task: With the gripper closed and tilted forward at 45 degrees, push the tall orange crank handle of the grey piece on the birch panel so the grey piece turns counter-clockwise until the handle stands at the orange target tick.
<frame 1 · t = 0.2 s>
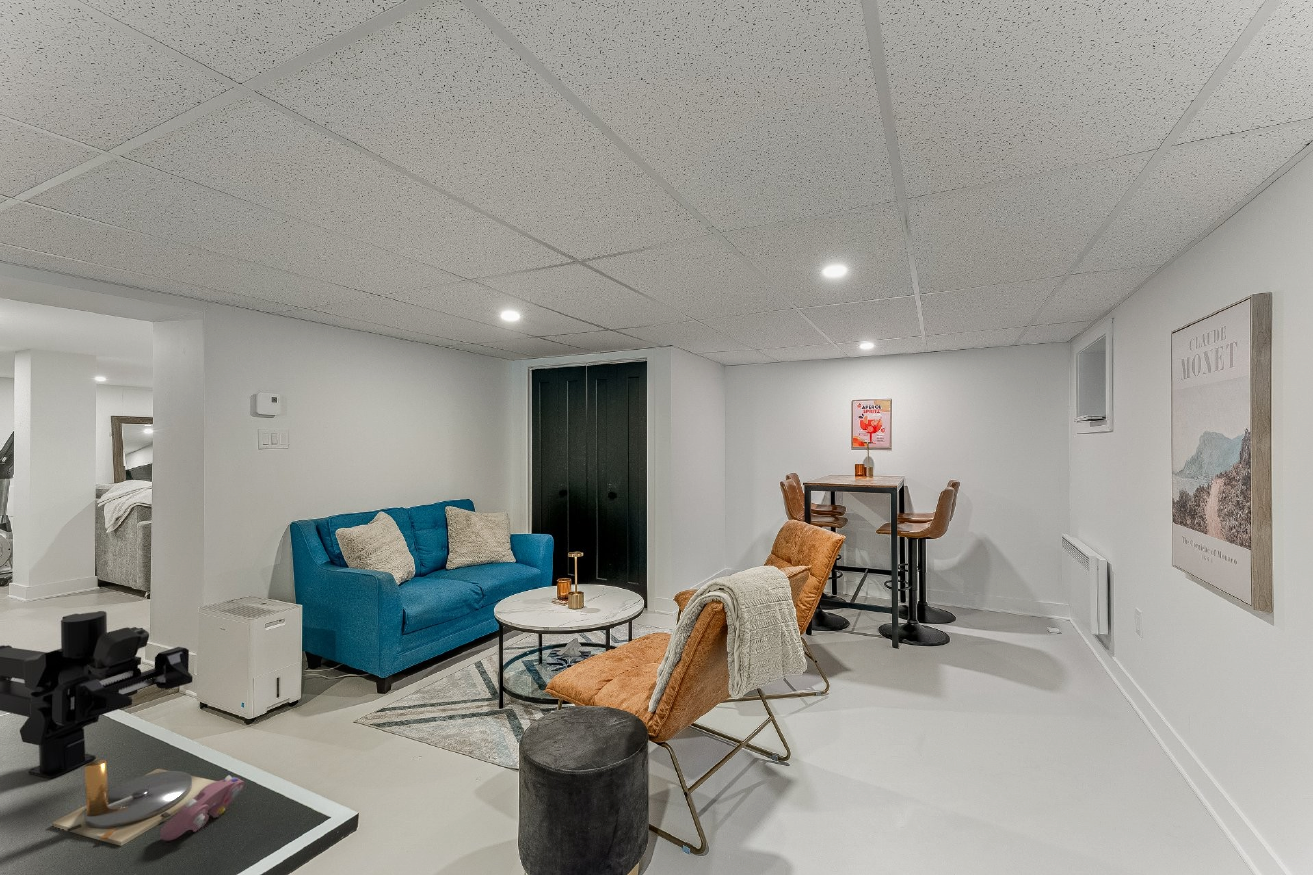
hand: (162, 690, 98), 16 cm above the table, tool horizontal, fingers open, 9 cm apart
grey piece: (139, 775, 95), point 5 cm above the table, hinge at 0.0°
video game controller: (205, 824, 91), on the table
panel: (141, 805, 95), on the table
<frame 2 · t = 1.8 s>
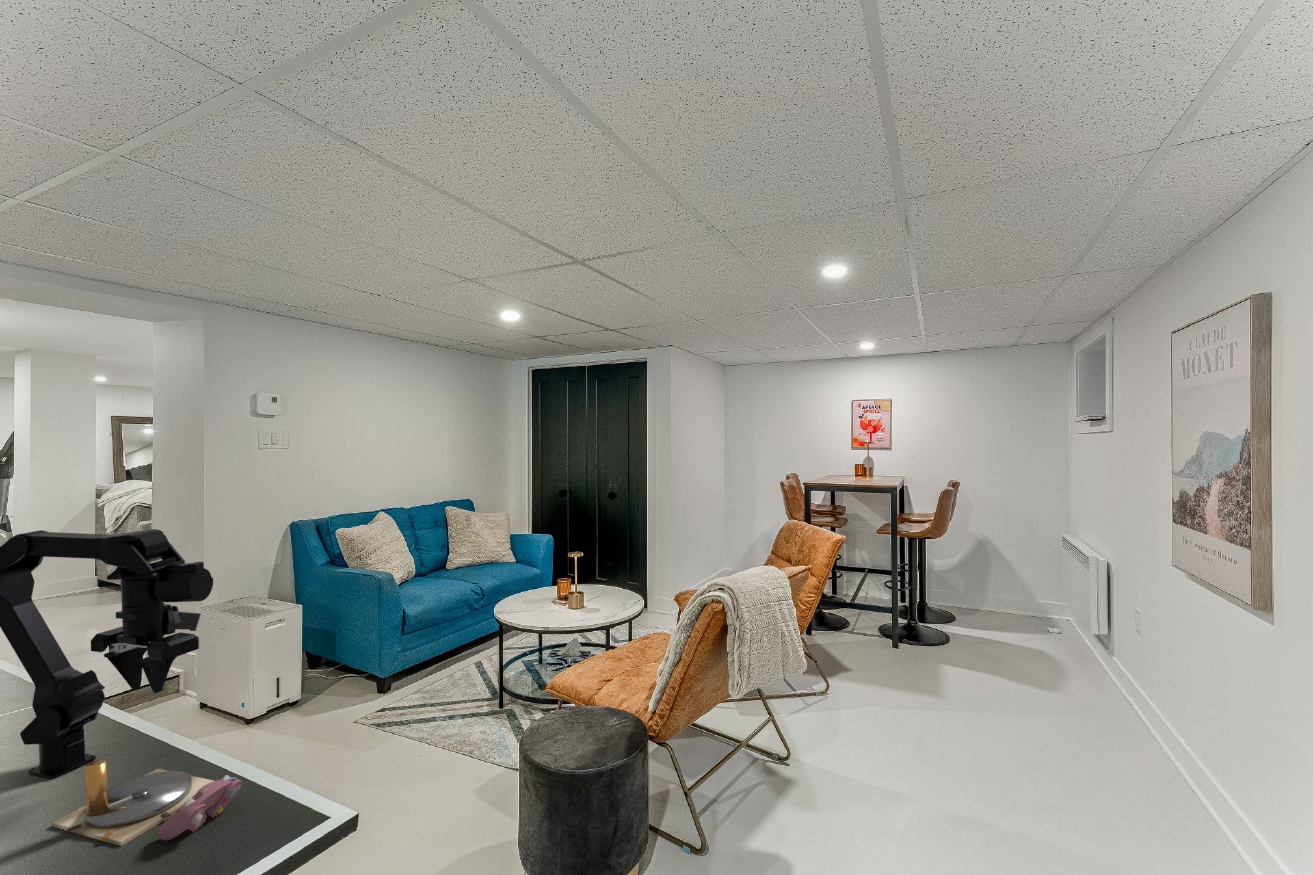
hand: (147, 690, 107), 13 cm above the table, tool pointing down, fingers open, 5 cm apart
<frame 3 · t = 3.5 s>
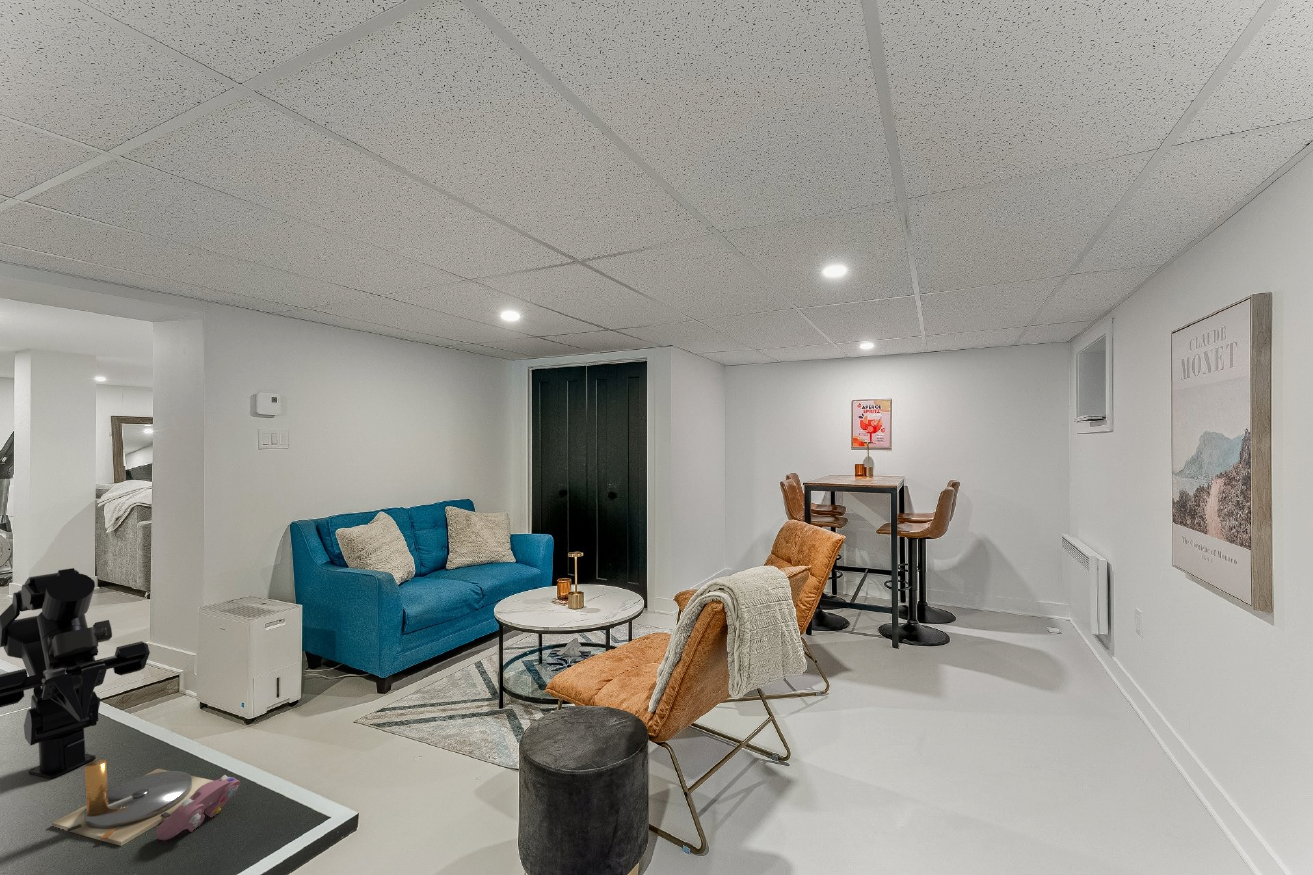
hand: (83, 719, 96), 13 cm above the table, tool tilted 45°, fingers closed
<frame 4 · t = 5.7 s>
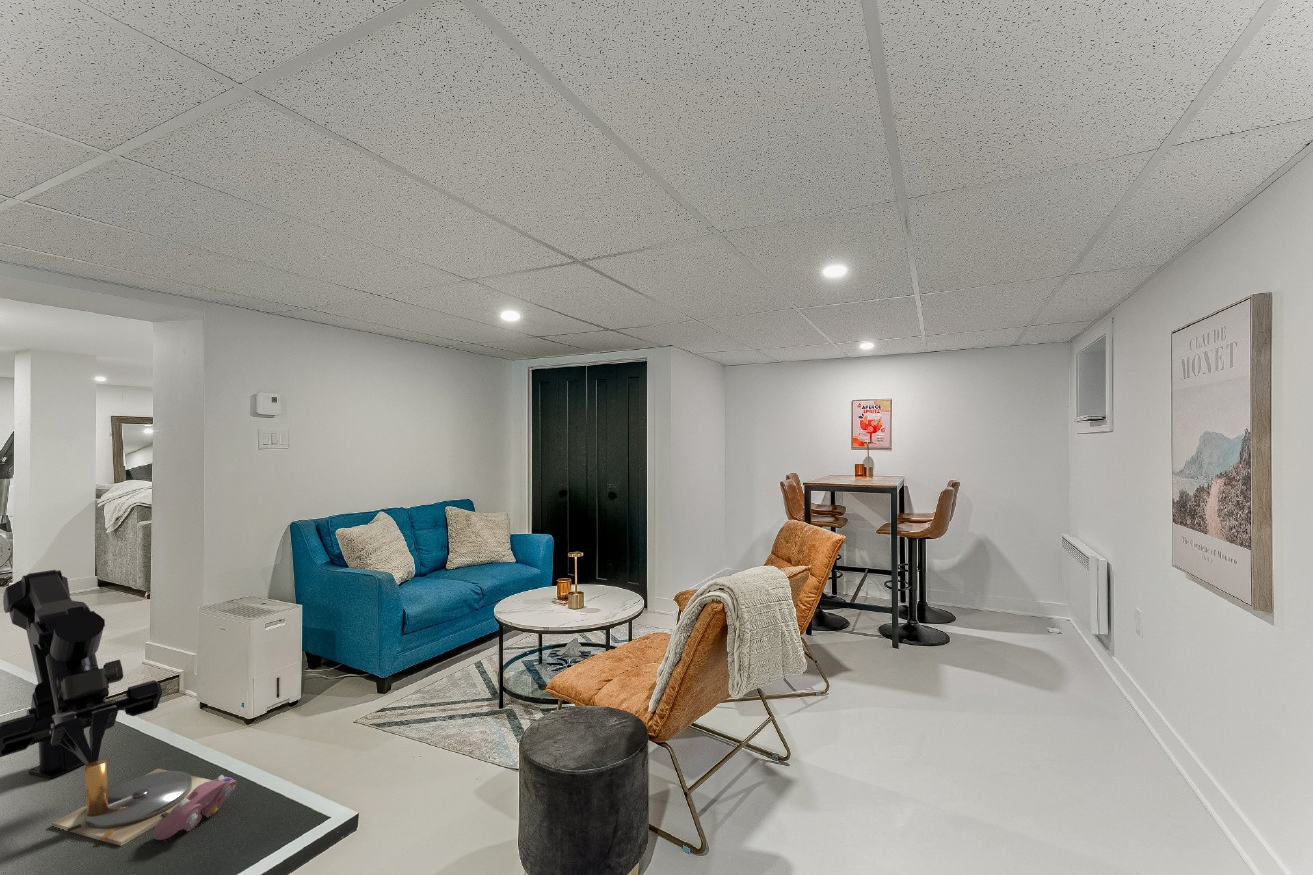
hand: (93, 766, 91), 8 cm above the table, tool tilted 45°, fingers closed, pressing on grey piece
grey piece: (139, 775, 95), point 5 cm above the table, hinge at 0.3°, touching gripper
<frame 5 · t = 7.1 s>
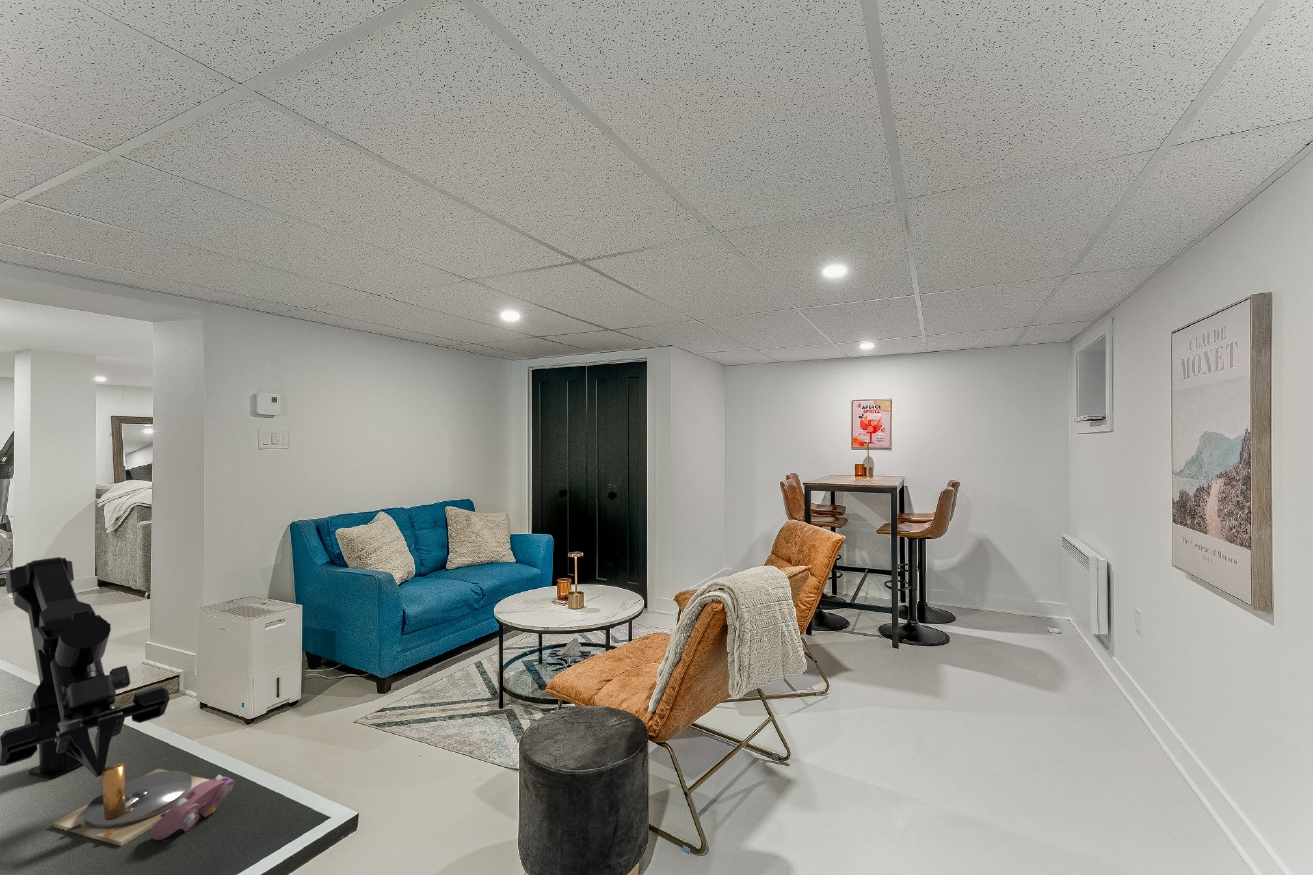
hand: (100, 774, 89), 8 cm above the table, tool tilted 45°, fingers closed
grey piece: (139, 775, 95), point 5 cm above the table, hinge at 43.1°
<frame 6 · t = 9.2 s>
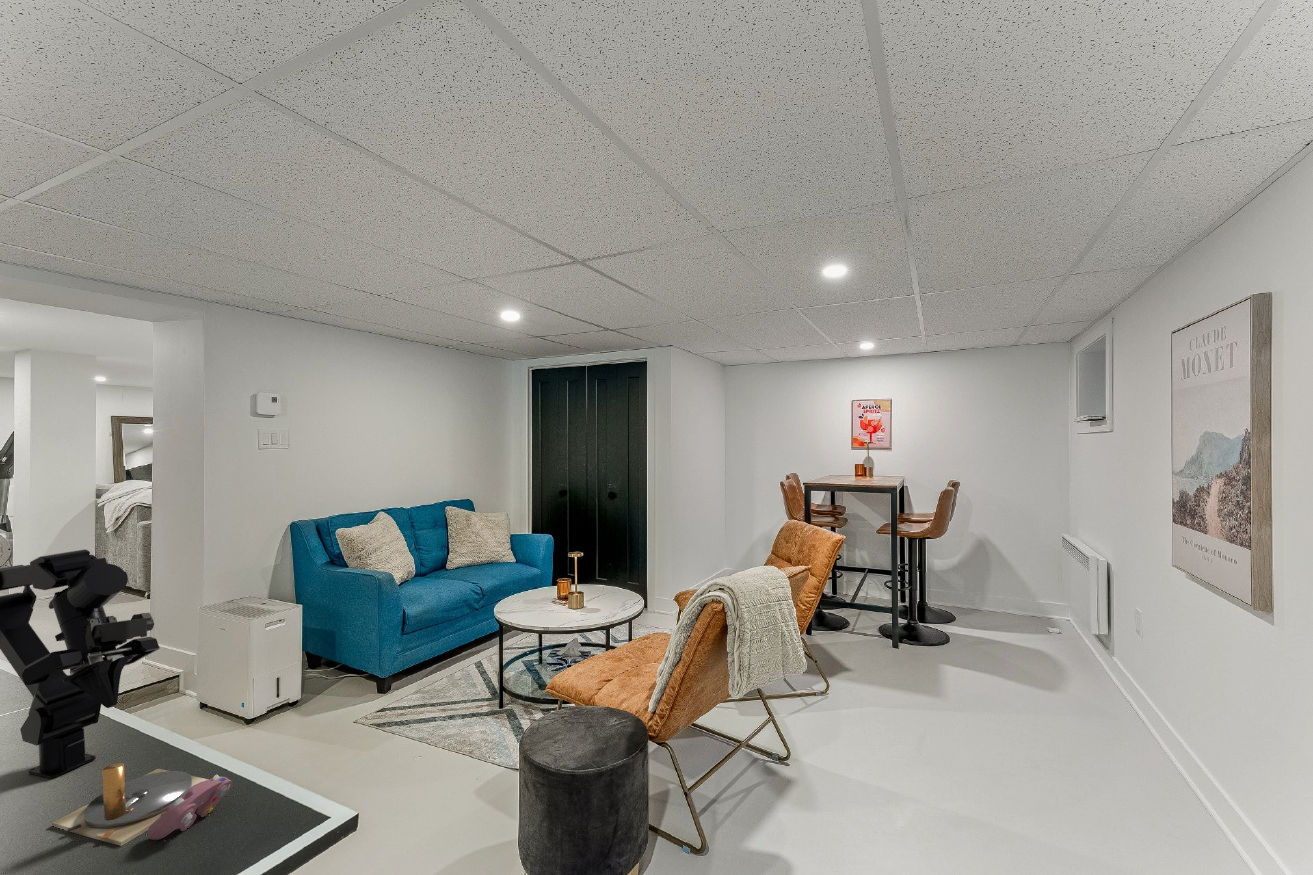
hand: (112, 706, 100), 13 cm above the table, tool tilted 30°, fingers closed
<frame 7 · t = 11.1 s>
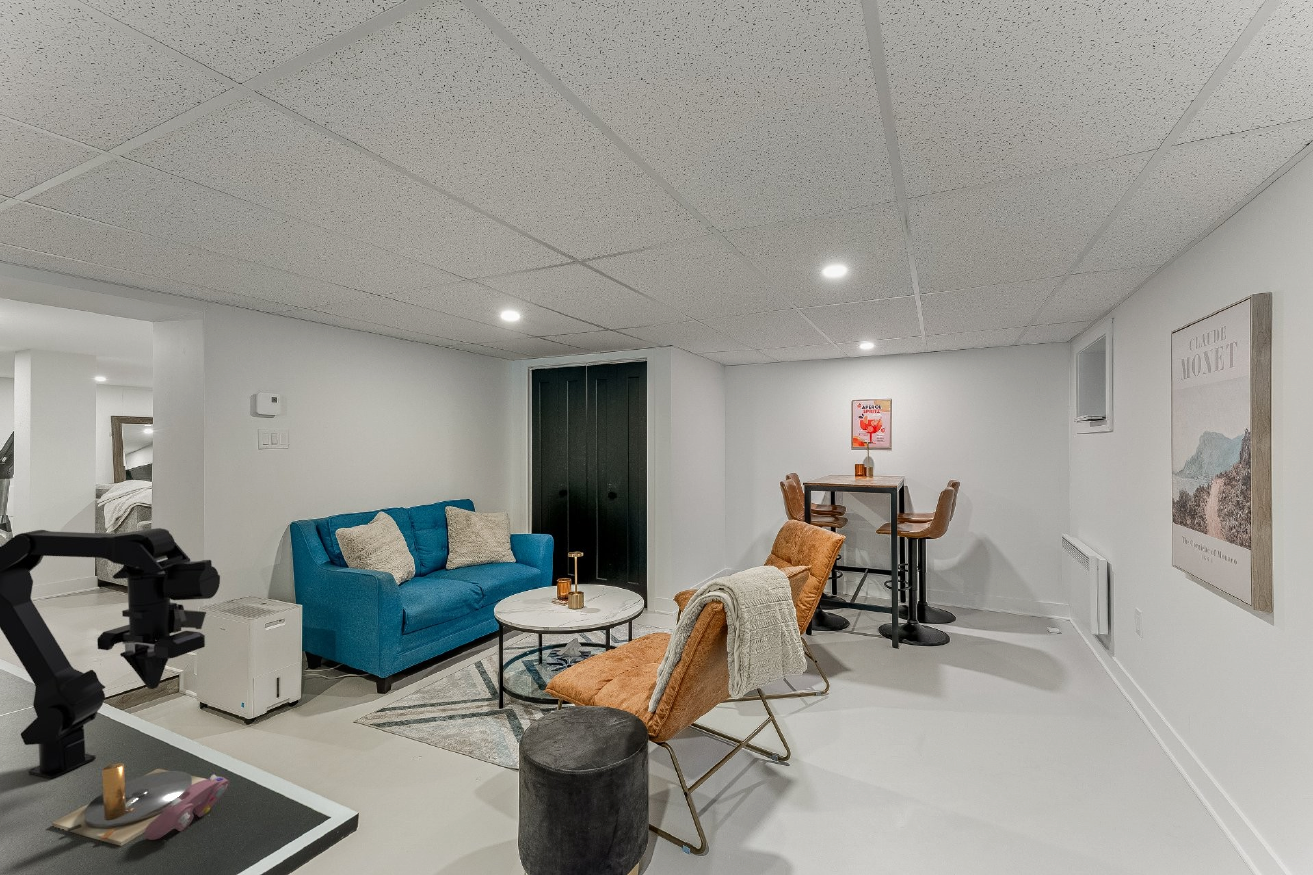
hand: (153, 688, 107), 13 cm above the table, tool pointing down, fingers closed
at the end: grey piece at +43° (first picture: +0°) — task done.
